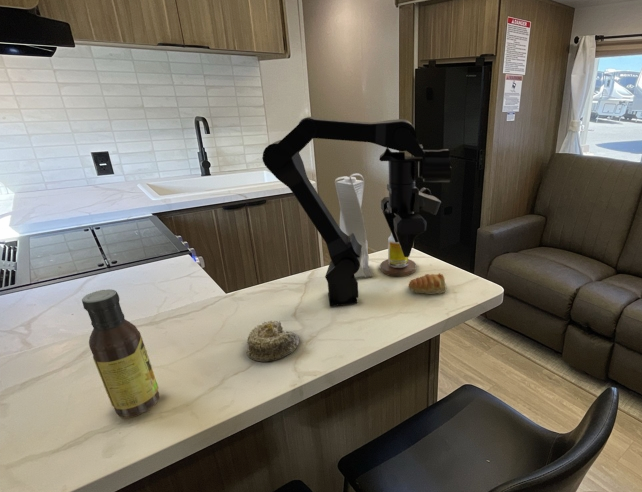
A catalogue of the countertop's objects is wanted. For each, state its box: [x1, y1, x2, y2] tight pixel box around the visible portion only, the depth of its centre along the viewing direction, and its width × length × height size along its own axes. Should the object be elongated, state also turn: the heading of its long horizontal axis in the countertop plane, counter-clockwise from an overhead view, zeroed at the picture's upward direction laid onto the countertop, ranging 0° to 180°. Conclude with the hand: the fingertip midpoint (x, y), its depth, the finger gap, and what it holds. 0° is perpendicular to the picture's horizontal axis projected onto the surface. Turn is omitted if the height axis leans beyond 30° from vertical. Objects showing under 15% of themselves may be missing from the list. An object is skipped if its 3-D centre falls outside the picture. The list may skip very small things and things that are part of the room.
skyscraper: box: [334, 172, 374, 280], centre depth 104 cm, size 8×8×28 cm
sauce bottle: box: [81, 288, 160, 418], centre depth 60 cm, size 6×6×20 cm
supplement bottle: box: [387, 232, 409, 268], centre depth 111 cm, size 6×6×10 cm
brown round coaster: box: [380, 258, 417, 277], centre depth 113 cm, size 10×10×1 cm
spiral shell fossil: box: [246, 320, 300, 362], centre depth 78 cm, size 10×10×5 cm
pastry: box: [408, 272, 447, 295], centre depth 102 cm, size 9×7×4 cm
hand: (401, 249), depth 92 cm, fingers open, 9 cm apart
